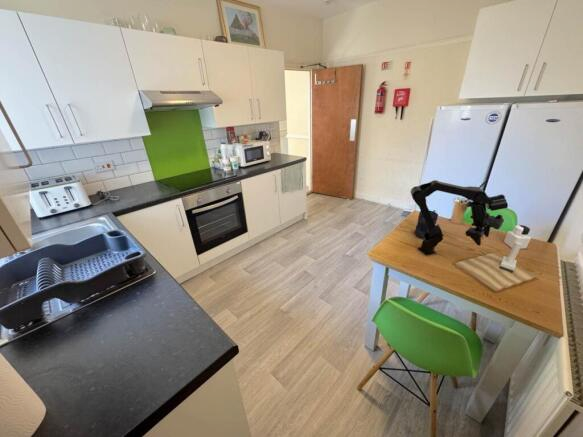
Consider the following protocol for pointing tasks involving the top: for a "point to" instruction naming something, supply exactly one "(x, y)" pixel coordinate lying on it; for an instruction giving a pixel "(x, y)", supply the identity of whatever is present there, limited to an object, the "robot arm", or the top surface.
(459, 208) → the utensil holder
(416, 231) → the storage jar
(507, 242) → the medicine bottle
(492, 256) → the chopping board
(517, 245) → the dish brush
